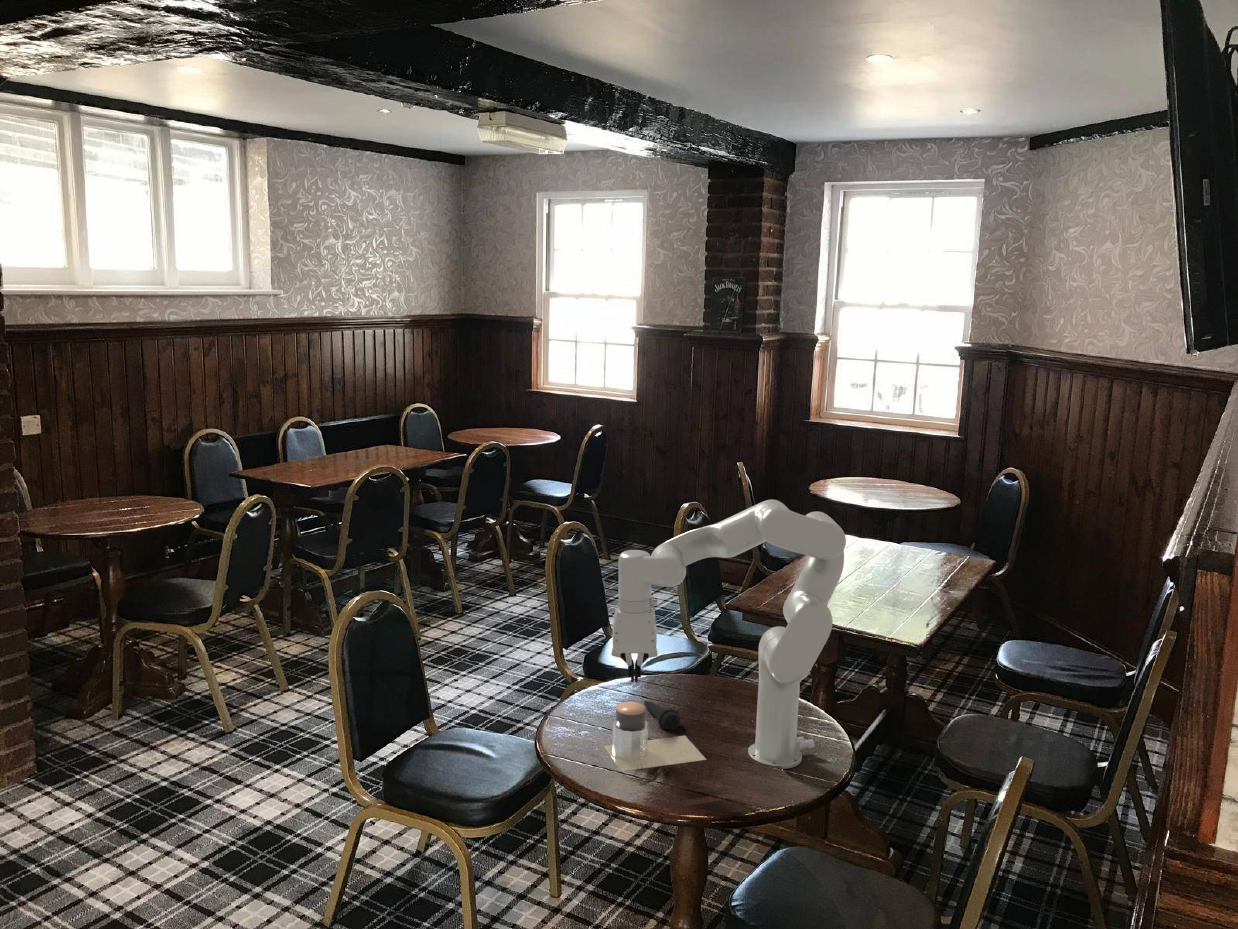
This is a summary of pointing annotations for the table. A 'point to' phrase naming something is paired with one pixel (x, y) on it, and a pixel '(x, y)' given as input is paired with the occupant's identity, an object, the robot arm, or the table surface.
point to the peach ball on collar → (630, 715)
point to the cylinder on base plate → (649, 749)
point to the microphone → (664, 716)
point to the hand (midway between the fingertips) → (634, 680)
